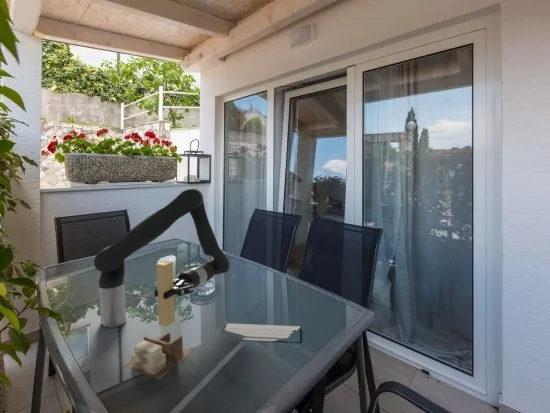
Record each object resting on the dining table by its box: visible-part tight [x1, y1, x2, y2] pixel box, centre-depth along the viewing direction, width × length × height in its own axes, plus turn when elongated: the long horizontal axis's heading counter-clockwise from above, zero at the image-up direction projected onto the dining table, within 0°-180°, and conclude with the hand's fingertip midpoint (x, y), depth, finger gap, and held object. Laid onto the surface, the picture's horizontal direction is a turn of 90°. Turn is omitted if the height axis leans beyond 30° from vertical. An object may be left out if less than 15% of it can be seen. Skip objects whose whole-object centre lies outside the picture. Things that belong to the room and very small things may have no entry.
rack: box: [122, 331, 194, 380], centre depth 105 cm, size 16×16×8 cm
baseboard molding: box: [221, 322, 301, 342], centre depth 123 cm, size 31×3×12 cm
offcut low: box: [130, 352, 166, 375], centre depth 101 cm, size 10×5×4 cm, turn 66°
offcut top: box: [133, 339, 162, 361], centre depth 100 cm, size 8×4×3 cm, turn 66°
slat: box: [156, 260, 176, 328], centre depth 106 cm, size 4×4×22 cm
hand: (159, 295), depth 104 cm, fingers closed on slat, 3 cm apart
